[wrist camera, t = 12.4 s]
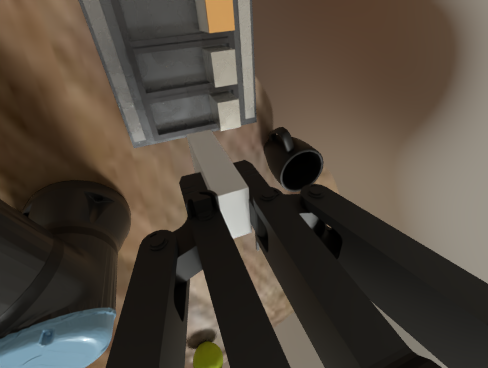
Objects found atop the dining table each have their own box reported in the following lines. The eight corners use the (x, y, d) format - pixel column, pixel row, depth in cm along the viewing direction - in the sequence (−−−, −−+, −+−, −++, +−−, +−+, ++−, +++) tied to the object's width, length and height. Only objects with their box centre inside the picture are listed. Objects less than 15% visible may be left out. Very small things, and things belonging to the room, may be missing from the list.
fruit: (215, 347, 86) (223, 380, 78) (188, 354, 82) (194, 389, 74) (220, 332, 82) (229, 366, 74) (192, 339, 78) (199, 375, 70)
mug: (282, 101, 43) (313, 119, 36) (299, 152, 51) (327, 175, 44) (243, 125, 43) (265, 149, 36) (266, 172, 51) (288, 199, 43)
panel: (133, 144, 38) (134, 164, 33) (71, -25, 26) (57, -33, 21) (253, 119, 43) (269, 133, 38) (246, -33, 31) (268, -41, 26)
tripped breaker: (199, 30, 32) (209, 33, 27) (193, -10, 29) (203, -13, 25) (221, 27, 32) (234, 30, 28) (217, -11, 30) (231, -15, 26)
